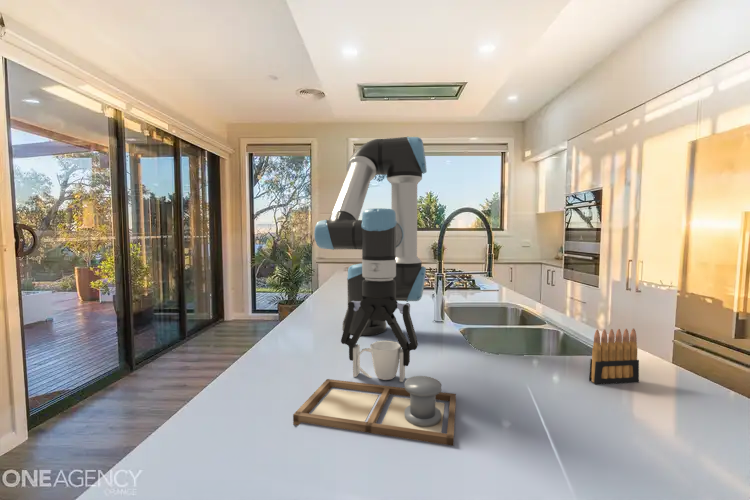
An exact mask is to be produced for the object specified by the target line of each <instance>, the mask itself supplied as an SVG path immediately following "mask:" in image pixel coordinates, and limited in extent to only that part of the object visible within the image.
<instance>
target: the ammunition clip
mask: <svg viewBox="0 0 750 500" xmlns="http://www.w3.org/2000/svg"><path fill="white" fill-rule="evenodd" d="M637 338H638V337H637V333H636V329H635V328H632V329H631V332H630V334H629V330H628V328H625V329H624V330H623V334H622V331H621V329H620V328H618V329H617V331H616V333H615V332H614V329H612V328H611V329H610V330H609V333H607V330H606V329H603V330H602V333H601V335H600V331H599V330H598V329H596V330H595V333H594V336H593V345H592V351H591V352H592V353H591V358H590V362H589V363H590V364H589V374H588V375H589V376H588V377H589V378H588V381H589V382H591V383H592V384H593V385H597V386H598V385H616V384H617V385H618V384H634V383H636V384H637V383H640V360H639V359H638V342H637V341H638V340H637Z"/></svg>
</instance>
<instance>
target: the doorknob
mask: <svg viewBox="0 0 750 500" xmlns="http://www.w3.org/2000/svg"><path fill="white" fill-rule="evenodd" d="M404 388H405V390H406V391H407V392H409V393H410V397H409V399H410V406H408V407H407V408H406V409H405V419H406V420H407V421H408V422H409V423H410V424H412V425H415V426H419V427H431V426H435V425H437V424H438V423H439V422H440V421H441V412H440V410H439V409H438V408H436V407H435V402H436V400H435V395H437V394H439V393H440V392H442V382H441V381H439V379H436V378H434V377H431V376H426V375H414V376H410V377H408V378H406V379H405V380H404Z"/></svg>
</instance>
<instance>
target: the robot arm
mask: <svg viewBox="0 0 750 500" xmlns="http://www.w3.org/2000/svg"><path fill="white" fill-rule="evenodd" d="M346 171H347V173H346V176H345V179H344V181H343V184H342V185H341V189H340V191H339V194H338V196H337V199H336V202H335V204H334V207H333V209H332V212H331V215H330V216H329V218H328V219H324V220H323V219H322V220H319V221H317V222H316V224H315V226H314V231H313V232H314V233H313V234H314V241H315V243H316V246H317V247H318V248H319V249H323V250H332V251H334V250H360V251H361V253H362V255H361V257H362V258H361V262H360V263H357V264H353V265H350V266H348V269H347V278H346V280H347V309H346V312H345V315H344V318H343V322H342V335H341V338H340V339H341V340H340V343H341V344H343V345H346V346H348V359H349V361H351V362H352V377H353V378H354V377H355V378H356V377H358V375H359V374H360V372H361V371H360V370H359V369H358V366H357V359H358V355H359V353H360V352H361V345H360V344H358V341H359V339H360V337H361V336H373V335H379V334H382V333H384V332H386V331H387V325H388V326H389V328H390V329H391V331H392V333H393V334H394V336H395V338H396V340H397V342H398V343H399V344H400V346H401V351H400V359H399V382H400V383H403V382H405V378H406V367H409V364H410V360H411V357H410V356H411V355H410V354H411V352H410V351H415V350H416V349H418V346H419V343H418V338H417V335H416V331H415V327H414V324H413V320H412V317H411V314H410V313H411V304H410V302H419V301H420V300H421V299H422V297H423V293H424V289H425V282H426V275H427V274H426V273H427V272H426V271H427V268H426V266H424V265H422V260H421V259H420V258H419V257H418V184H419V183H420V182H421V181H422V180H423V174H426V173H427V161H426V153H425V146H424V142H423V140H422V138H421V137H419V136H405V137H404V136H402V137H391V138H390V137H389V138H388V137H387V138H375V139H372V140H370V141H367V142H365V143H364V144H362V145H360V147H358V148H357V150H356V151H354V152H353V154H352V155H351V156H350V158H349V160H348V163H347V166H346ZM378 175H379V176H381V175H382V176H383V175H384V176H385V175H386V180H387V181H388V182H389V184H390V185H391V208H366V209H364V210H363V211H362V209H363V205H364V202H365V199H366V197H367V194H368V190H369V186H370V184H371V181H372V180H374V179H375V177H376V176H378ZM361 212H362V216H361V217H362V218H361V219H359V218H360V214H361ZM400 302H406V303H400ZM396 310H398V311H399V313H400V314H401V315H402V320H403V323H404V324H403V325H404V327H405V330H406V334H407V337H408V339H407V337H406V335H405V334H404V332H403V330H402V328H401V326H400V324H399V323H398V321H397V318H396V316H395V314H394V313H395V312H396ZM351 335H352V336H351ZM360 358H361V356H360V357H359V365H360V366H361V363H360V362H361V359H360Z"/></svg>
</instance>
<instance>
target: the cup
mask: <svg viewBox="0 0 750 500" xmlns="http://www.w3.org/2000/svg"><path fill="white" fill-rule="evenodd" d="M401 349H402V347H401V346H400V344H399V342H398V341H392V340H378V341H377V340H376V341H375V342H372V343H371V344H370V345H369V347H368V348H362V349H361V350H360V353H359V355H358V359H357V366H358V369H359V370H360V372H361V374H363V375H364V376H365V377H367V378H368V379H369V378H370V379H371V378H373V376H372V375H370V374H369V373H368V372H366V371H365V370H363V368H362V367H361V364H360V365H359V357H360V358H361V354H362V353H363V352H369V353H371V358H372V366H373V369H374V374H375V376H376V377H377V379H379V380H384V381H387V380H389V381H391V380H393V379H394V378H395V377H396V376H397V373H398V370H399V366H400V351H401Z"/></svg>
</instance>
